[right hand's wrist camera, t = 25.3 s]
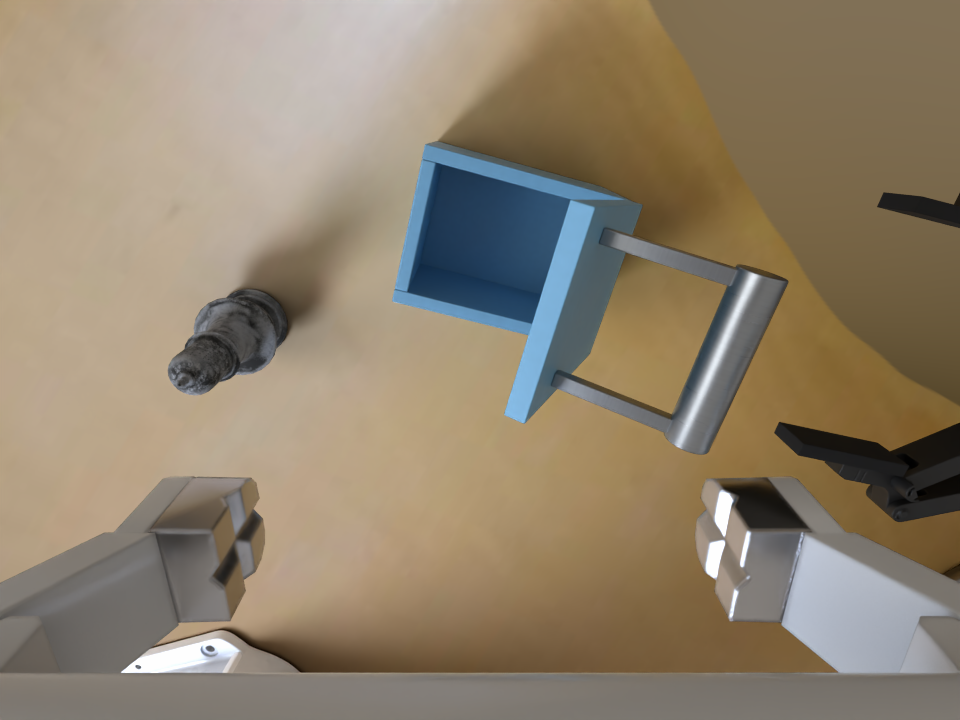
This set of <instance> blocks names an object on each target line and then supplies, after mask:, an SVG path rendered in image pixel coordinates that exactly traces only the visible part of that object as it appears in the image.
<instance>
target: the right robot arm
mask: <svg viewBox="0 0 960 720" xmlns="http://www.w3.org/2000/svg"><path fill="white" fill-rule="evenodd" d="M258 500H259V494H258V489H257V484H256V482H255V481H254V480H253V479H252V478H232V477H168V478H164V479H162V480H161V481H160V483H159V484H158V485H157V486H156V487H155V488H154V489H153V490H152V491H151V492H150V493H149V495H148V496H147V497H146V498H145V499H144V500H143V501H142V502H141V503H140V504H139V505H138V507H137V508H136V509H135V510H134V511H133V512H132V513H131V514H130V515H129V516H128V517H127V519H126V520H125V521H124V522H123V523H122V524H121V525H120V526H119V527H118V528H117V529H116V531H115V532H114V533H103V534H101V535H99V536H96V537H94V538H92V539H90V540H88V541H86V542H84V543H82V544H80V545H78V546H76V547H74V548H72V549H70V550H67V551H65V552H63V553H61V554H59V555H57V556H55V557H53V558H51V559H49V560H47V561H45V562H43V563H41V564H38V565H36V566H34V567H32V568H30V569H28V570H26V571H24V572H22V573H20V574H18V575H16V576H14V577H11V578H9V579H7V580H5V581H3V582H1V583H0V720H960V583H959V582H957V581H954V580H952V579H950V578H948V577H946V576H944V575H942V574H940V573H938V572H936V571H934V570H932V569H930V568H928V567H926V566H923V565H921V564H919V563H917V562H915V561H913V560H911V559H909V558H907V557H905V556H903V555H901V554H899V553H897V552H895V551H892V550H890V549H888V548H886V547H884V546H882V545H880V544H878V543H876V542H874V541H872V540H870V539H868V538H866V537H864V536H861V535H859V534H857V533H846V532H845V531H844V529H843V528H842V527H841V526H840V525H839V524H838V523H837V522H836V521H835V520H834V519H833V517H832V516H831V515H830V514H829V513H828V512H827V511H826V510H825V509H824V508H823V507H822V505H821V504H820V503H819V502H818V501H817V500H816V499H815V498H814V497H813V496H812V495H811V493H810V492H809V491H808V490H807V489H806V488H805V487H804V486H803V485H802V484H801V483H800V481H799V480H798V479H796V478H793V477H791V476H783V477H762V478H719V479H706V481H705V483H704V485H703V488H702V493H701V500H702V502H703V503H704V505H705V507H706V508H707V509H706V510H705V511H704V512H703V513H702V514H701V515H700V516H699V517H698V518H697V523H696V530H695V542H696V551H697V554H698V558H699V561H700V563H701V565H702V567H703V570H704V572H706V573H707V574H708V575H710V576H711V577H713V578H714V579H716V584H715V590H714V591H715V593H716V595H717V597H718V599H719V601H720V603H721V605H722V607H723V609H724V611H725V613H726V615H727V616H728V618H729V620H730V621H743V622H779V623H782V624H781V625H782V626H783V627H784V628H786V629H787V630H788V631H789V632H790V633H792V634H793V635H794V636H795V637H797V638H798V639H799V640H800V641H801V642H803V643H804V644H805V645H806V646H807V647H809V648H810V649H811V650H812V651H814V652H815V653H816V654H817V655H818V656H820V657H821V658H822V659H823V660H824V661H826V662H827V663H828V664H829V665H831V666H832V667H833V668H834V669H835V670H837V671H838V672H839V673H300V672H299V671H298V670H297V669H296V668H294V667H293V666H292V665H291V664H289V663H288V662H286V661H284V660H283V659H281V658H279V657H277V656H275V655H272V654H270V653H267V652H264V651H261V650H258V649H256V648H253V647H251V646H249V645H248V644H246V643H245V642H244V641H243V640H241V639H240V638H238V637H237V636H235V635H234V634H232V633H230V632H228V631H224V630H219V631H215V632H211V633H207V634H203V635H200V636H196V637H192V638H188V639H185V640H181V641H177V642H173V643H170V644H166V645H162V646H158V647H155V648H152V647H153V646H154V645H155V644H156V643H158V642H159V641H160V640H161V639H162V638H164V637H165V636H166V635H167V634H169V633H170V632H171V631H172V630H173V629H175V628H176V627H177V626H178V625H179V624H178V623H181V622H216V621H230V620H231V619H232V617H233V615H234V613H235V611H236V609H237V607H238V605H239V603H240V601H241V599H242V597H243V595H244V593H245V591H246V590H245V584H244V579H246V578H247V577H249V576H250V575H252V574H253V573H254V572H256V570H257V567H258V565H259V563H260V561H261V558H262V554H263V549H264V545H265V528H264V522H263V518H262V517H261V516H260V515H259V514H258V513H257V512H256V511H255V510H254V509H253V508H254V507H255V505H256V503H257V502H258ZM150 648H151V649H150Z"/></svg>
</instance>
